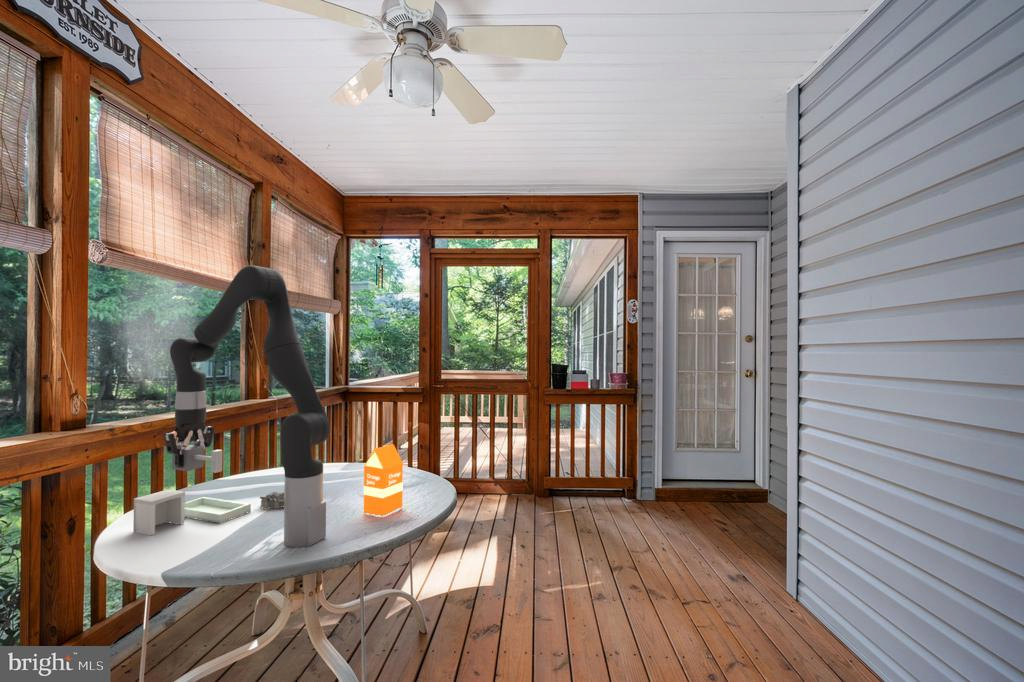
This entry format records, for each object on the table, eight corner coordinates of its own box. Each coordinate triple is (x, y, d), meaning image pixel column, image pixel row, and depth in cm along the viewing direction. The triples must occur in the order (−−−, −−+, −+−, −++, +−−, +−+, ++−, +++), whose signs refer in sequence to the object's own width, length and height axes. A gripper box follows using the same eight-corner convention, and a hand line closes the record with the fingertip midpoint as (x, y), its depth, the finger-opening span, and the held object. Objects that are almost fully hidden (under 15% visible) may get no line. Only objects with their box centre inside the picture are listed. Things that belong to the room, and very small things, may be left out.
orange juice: (363, 514, 141) (363, 447, 142) (384, 505, 149) (384, 442, 149) (382, 518, 138) (383, 450, 138) (403, 509, 145) (403, 445, 146)
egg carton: (257, 510, 146) (257, 496, 146) (268, 502, 153) (268, 489, 153) (292, 509, 146) (292, 495, 146) (302, 501, 154) (302, 488, 154)
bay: (184, 523, 133) (184, 491, 134) (150, 535, 125) (151, 501, 125) (167, 520, 136) (167, 489, 136) (133, 532, 127) (133, 498, 127)
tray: (250, 512, 143) (250, 503, 143) (220, 523, 134) (220, 514, 134) (203, 504, 150) (203, 496, 150) (171, 515, 140) (171, 506, 140)
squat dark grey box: (226, 469, 135) (227, 449, 135) (210, 474, 130) (211, 452, 130) (188, 465, 140) (189, 444, 140) (171, 469, 135) (172, 448, 135)
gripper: (175, 410, 128) (174, 472, 128) (222, 404, 142) (221, 460, 142) (156, 408, 131) (154, 469, 131) (204, 403, 144) (203, 458, 144)
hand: (189, 464), depth 136 cm, fingers closed on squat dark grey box, 5 cm apart
